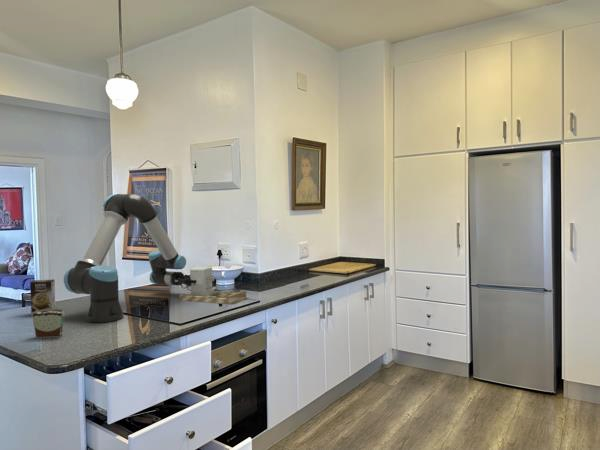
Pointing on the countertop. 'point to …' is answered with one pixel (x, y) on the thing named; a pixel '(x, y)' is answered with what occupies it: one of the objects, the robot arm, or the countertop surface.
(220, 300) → the wooden cutting board
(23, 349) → the countertop surface
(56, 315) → the food container
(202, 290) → the supplement box
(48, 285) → the coffee box
